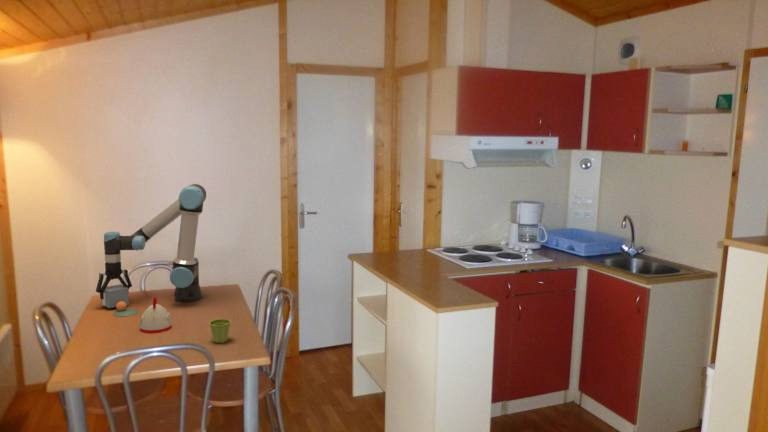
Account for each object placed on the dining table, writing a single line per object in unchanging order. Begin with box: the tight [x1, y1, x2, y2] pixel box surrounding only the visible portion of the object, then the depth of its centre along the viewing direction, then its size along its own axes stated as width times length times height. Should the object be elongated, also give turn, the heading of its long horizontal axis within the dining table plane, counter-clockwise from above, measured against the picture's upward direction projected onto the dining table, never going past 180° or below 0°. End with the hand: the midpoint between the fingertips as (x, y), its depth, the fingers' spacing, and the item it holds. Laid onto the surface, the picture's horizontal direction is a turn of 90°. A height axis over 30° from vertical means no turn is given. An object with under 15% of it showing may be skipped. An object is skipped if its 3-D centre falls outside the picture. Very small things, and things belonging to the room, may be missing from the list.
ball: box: [115, 301, 127, 311], centre depth 294 cm, size 5×5×5 cm
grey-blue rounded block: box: [100, 284, 130, 309], centre depth 300 cm, size 10×10×9 cm
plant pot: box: [208, 318, 232, 344], centre depth 254 cm, size 9×9×9 cm
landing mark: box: [112, 308, 140, 318], centre depth 291 cm, size 12×12×1 cm
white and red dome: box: [139, 297, 172, 334], centre depth 268 cm, size 14×14×15 cm
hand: (114, 302), depth 300 cm, fingers closed on grey-blue rounded block, 10 cm apart
